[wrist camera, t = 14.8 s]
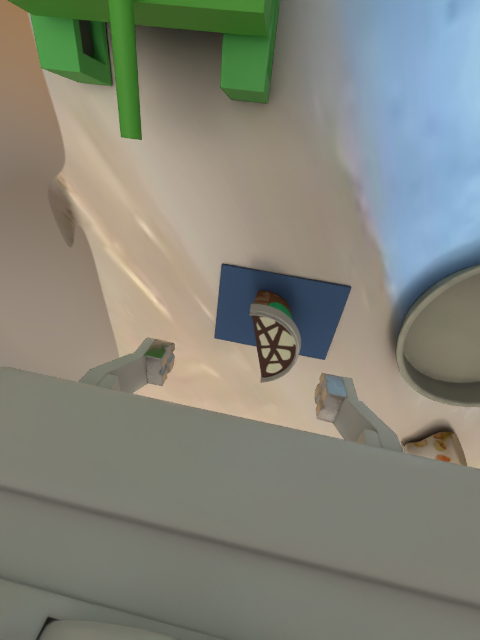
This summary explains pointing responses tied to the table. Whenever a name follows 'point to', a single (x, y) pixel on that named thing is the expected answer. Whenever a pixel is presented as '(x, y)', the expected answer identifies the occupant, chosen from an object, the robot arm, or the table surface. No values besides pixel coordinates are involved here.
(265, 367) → the food container
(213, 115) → the table surface
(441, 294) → the cake pan
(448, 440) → the mug
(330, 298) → the mat
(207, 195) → the table surface
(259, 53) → the tank
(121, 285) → the table surface
